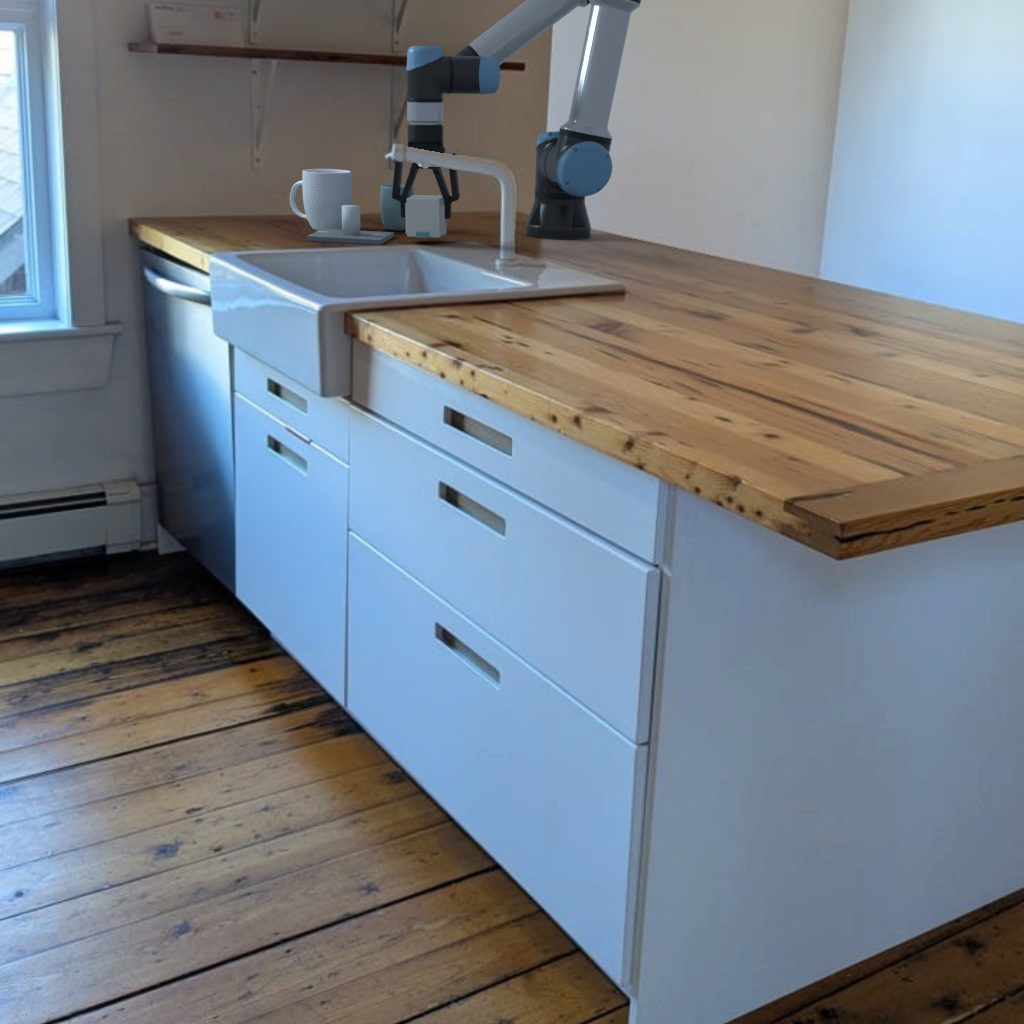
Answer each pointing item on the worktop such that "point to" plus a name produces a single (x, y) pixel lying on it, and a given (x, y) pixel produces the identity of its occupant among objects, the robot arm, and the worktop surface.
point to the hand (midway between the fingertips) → (426, 233)
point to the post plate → (350, 238)
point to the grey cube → (424, 216)
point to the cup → (392, 208)
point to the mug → (323, 197)
